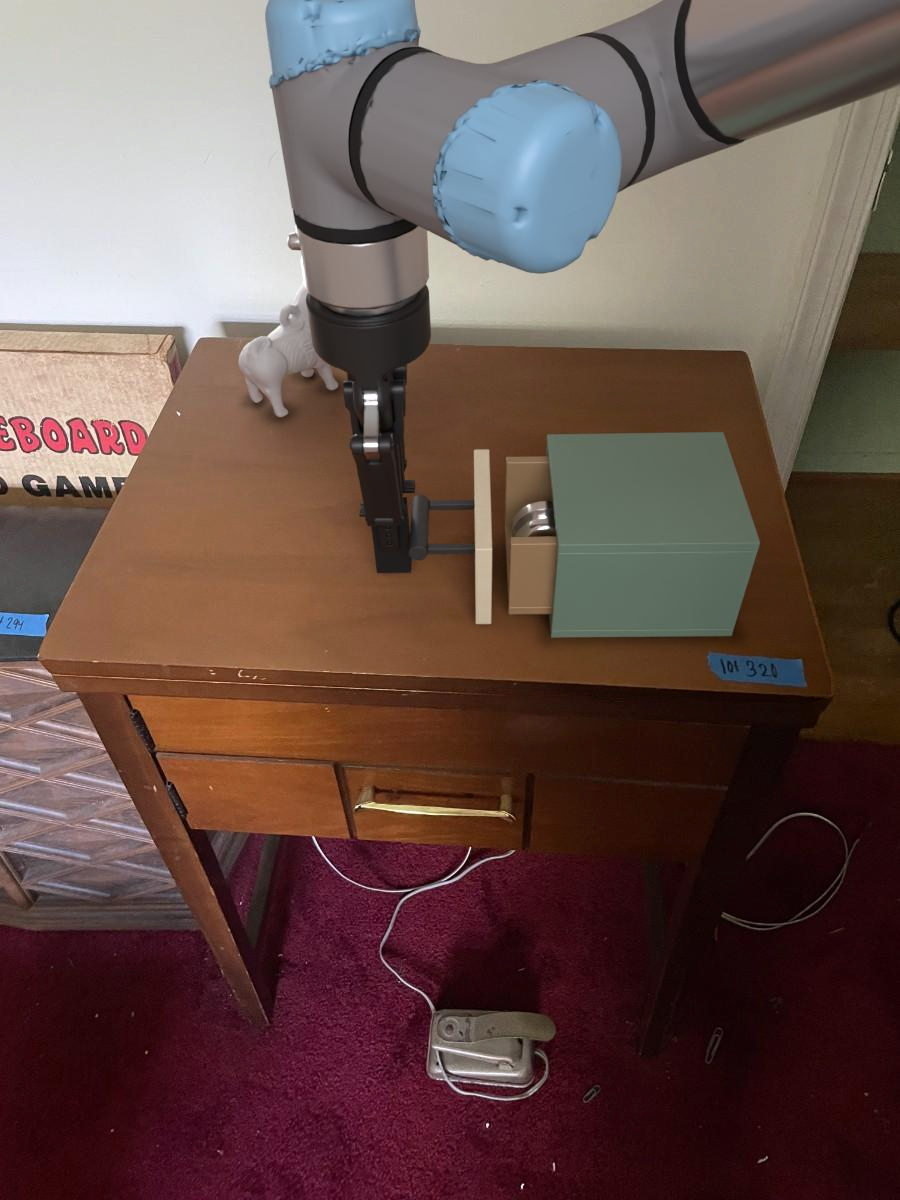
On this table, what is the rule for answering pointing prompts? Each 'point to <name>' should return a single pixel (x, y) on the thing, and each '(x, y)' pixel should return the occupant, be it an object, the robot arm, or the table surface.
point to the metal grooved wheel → (535, 521)
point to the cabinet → (648, 535)
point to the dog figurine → (283, 355)
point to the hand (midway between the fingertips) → (394, 566)
